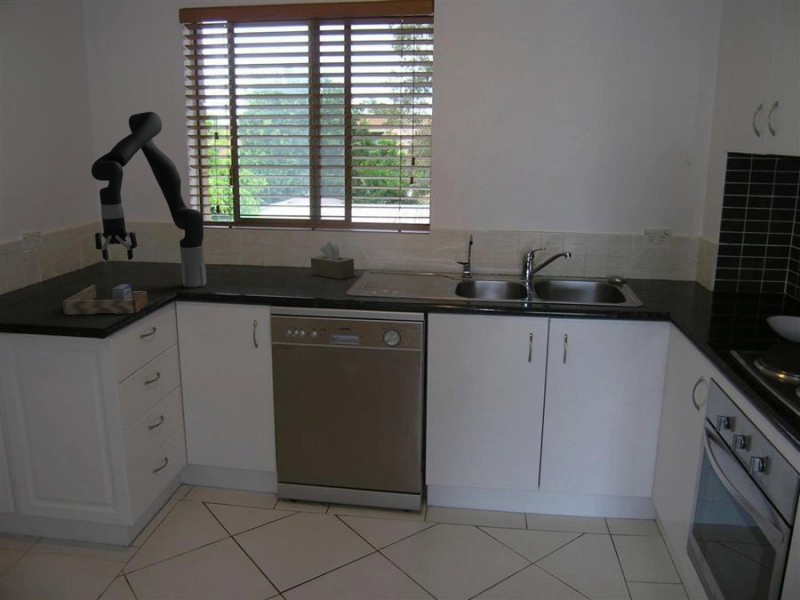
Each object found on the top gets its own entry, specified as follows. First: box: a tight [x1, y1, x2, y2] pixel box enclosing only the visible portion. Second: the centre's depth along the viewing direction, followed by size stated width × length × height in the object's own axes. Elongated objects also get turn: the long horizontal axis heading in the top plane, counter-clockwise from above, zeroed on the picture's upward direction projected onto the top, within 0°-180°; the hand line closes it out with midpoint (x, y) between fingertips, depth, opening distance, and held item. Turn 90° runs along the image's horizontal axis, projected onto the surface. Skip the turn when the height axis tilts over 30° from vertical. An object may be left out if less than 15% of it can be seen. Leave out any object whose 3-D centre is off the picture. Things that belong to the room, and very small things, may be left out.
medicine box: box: [111, 283, 132, 300], centre depth 249 cm, size 8×4×9 cm, turn 3°
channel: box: [62, 284, 149, 315], centre depth 255 cm, size 26×27×5 cm
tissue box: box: [310, 241, 355, 280], centre depth 304 cm, size 19×10×16 cm, turn 53°
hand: (118, 260), depth 245 cm, fingers open, 8 cm apart
